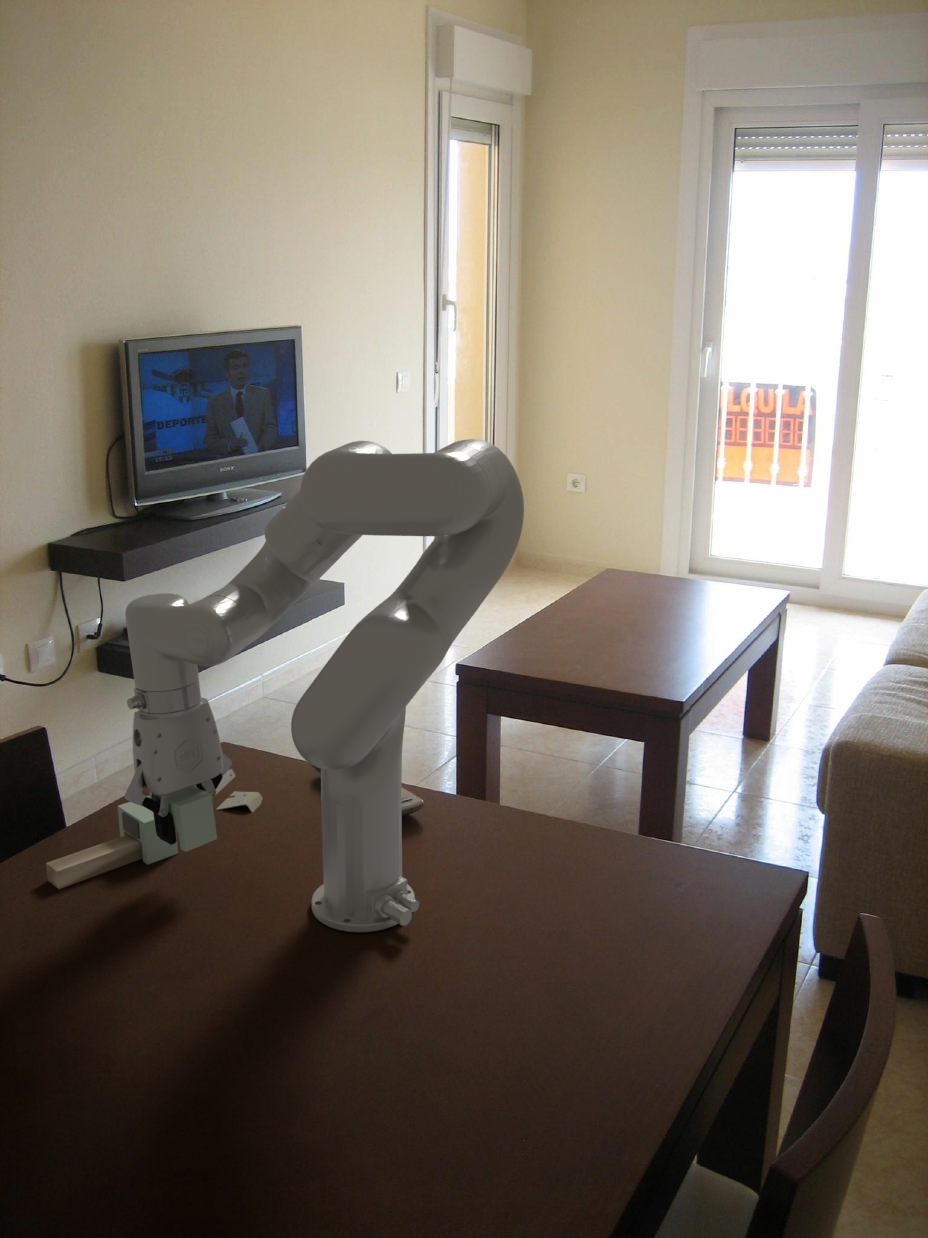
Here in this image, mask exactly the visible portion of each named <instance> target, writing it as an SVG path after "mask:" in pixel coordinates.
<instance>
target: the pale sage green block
mask: <svg viewBox="0 0 928 1238" xmlns="http://www.w3.org/2000/svg"><path fill="white" fill-rule="evenodd" d="M213 806H214V800H213V801H212V794H210V793H207V792H205V791H203V790H201V789H199V788H197V787H195V785H194V786H192V787H189V788H186V789H183V790H181V791H178V792H175V793H172V794H170V801H169V810H168V811H169V813H170V814H172V815H173V821H174V826H175V832H177V833H178V834H177V835H178V841H179V842H178V843H179V847H180V848H179V849H180V850H181V851H184V852H189V851H191V850H193V849H196V848H198V847H201V846H203V845H206V844H209V843H210V842H213V841H216V840H218V835H217V826H216V819H215V817H216V816H215V817H214V814H215V808H214V809H213ZM153 815H154V814H153ZM154 823H155V821H154ZM155 830H156V828H155ZM156 836H157V834H156Z"/></svg>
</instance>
